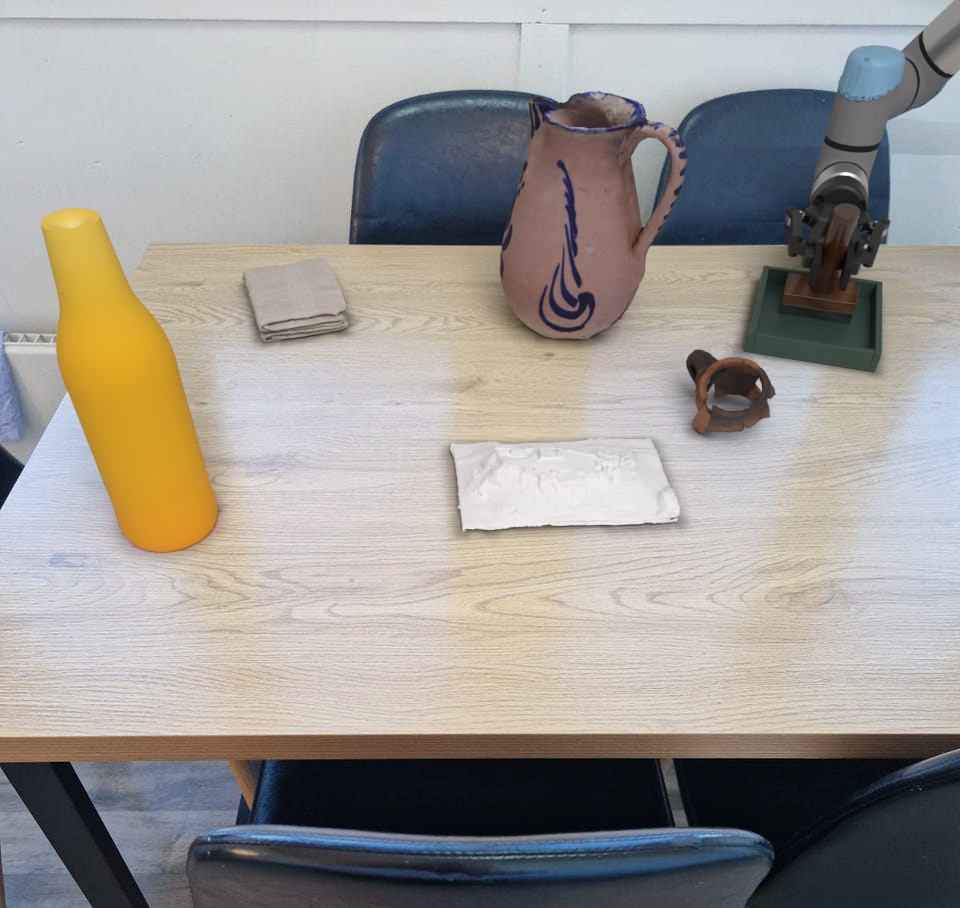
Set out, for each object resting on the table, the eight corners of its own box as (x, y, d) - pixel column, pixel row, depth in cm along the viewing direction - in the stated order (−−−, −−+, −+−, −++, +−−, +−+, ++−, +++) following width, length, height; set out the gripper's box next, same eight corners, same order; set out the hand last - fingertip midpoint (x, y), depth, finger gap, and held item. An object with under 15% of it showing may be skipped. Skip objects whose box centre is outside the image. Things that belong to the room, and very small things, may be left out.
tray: (876, 299, 117) (882, 281, 115) (874, 372, 104) (882, 353, 103) (759, 282, 120) (763, 265, 118) (744, 351, 108) (749, 332, 106)
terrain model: (693, 530, 86) (705, 490, 82) (467, 552, 82) (470, 511, 79) (640, 434, 97) (649, 394, 93) (438, 449, 93) (439, 408, 89)
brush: (852, 302, 114) (888, 204, 102) (849, 324, 111) (885, 226, 100) (782, 291, 115) (810, 195, 104) (778, 313, 113) (805, 216, 102)
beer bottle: (104, 545, 83) (-25, 237, 61) (153, 487, 89) (52, 188, 67) (191, 563, 81) (90, 253, 59) (236, 503, 87) (158, 202, 65)
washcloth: (262, 347, 108) (257, 323, 105) (241, 284, 119) (236, 261, 117) (355, 332, 110) (353, 309, 108) (325, 272, 122) (322, 249, 119)
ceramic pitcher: (524, 282, 120) (533, 74, 101) (673, 310, 115) (712, 96, 96) (478, 342, 109) (479, 120, 90) (641, 375, 104) (678, 148, 85)
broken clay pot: (785, 419, 98) (798, 382, 90) (724, 474, 98) (731, 442, 90) (710, 355, 102) (715, 313, 94) (650, 408, 102) (651, 371, 94)
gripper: (889, 239, 120) (888, 317, 105) (771, 223, 123) (754, 297, 108) (909, 181, 114) (912, 255, 99) (785, 167, 117) (769, 236, 102)
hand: (829, 277), depth 103 cm, fingers closed on brush, 3 cm apart
